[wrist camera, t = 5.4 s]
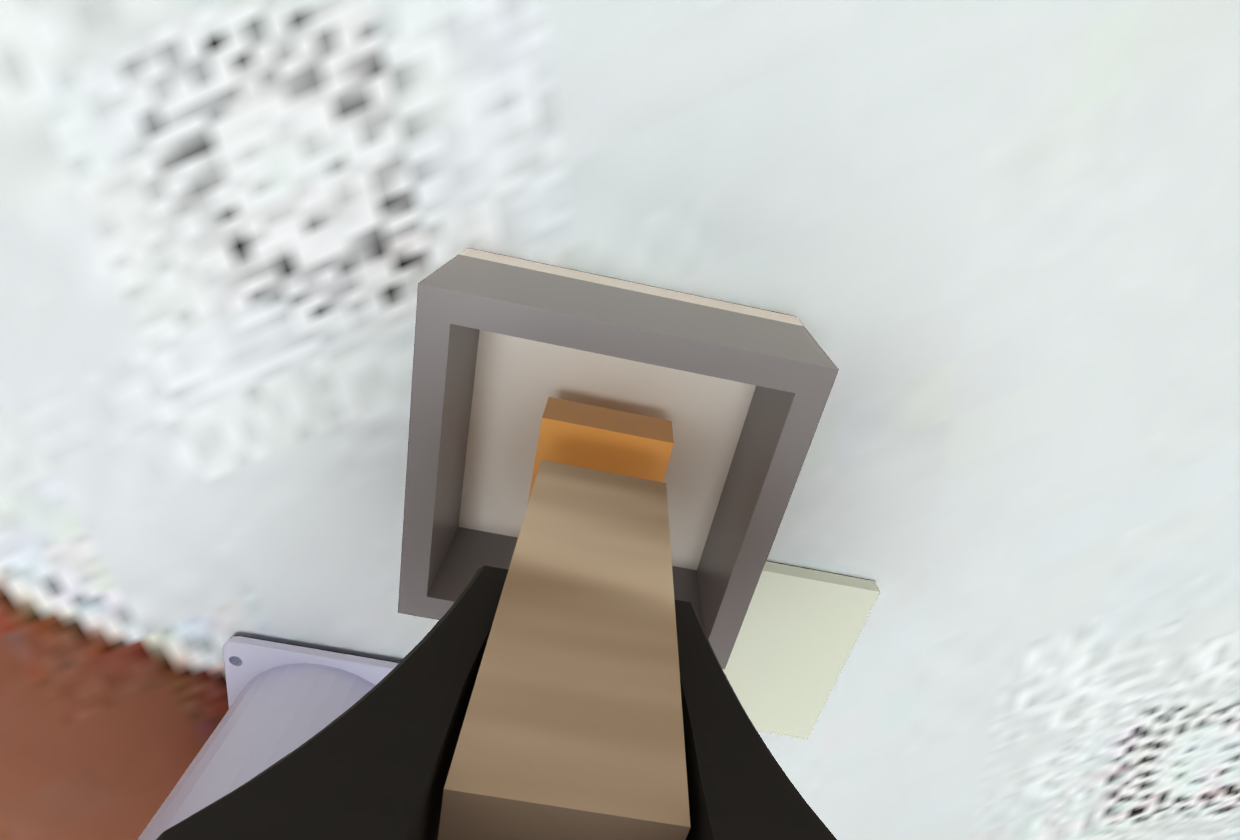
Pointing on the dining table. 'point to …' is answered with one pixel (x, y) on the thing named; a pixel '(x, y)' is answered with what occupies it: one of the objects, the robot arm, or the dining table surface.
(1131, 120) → the dining table surface
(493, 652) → the tan wooden block
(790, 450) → the switch box
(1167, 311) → the dining table surface
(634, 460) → the button
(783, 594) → the sage tile
